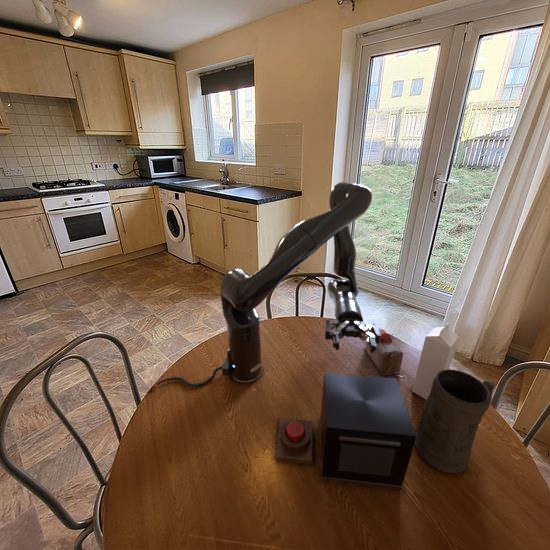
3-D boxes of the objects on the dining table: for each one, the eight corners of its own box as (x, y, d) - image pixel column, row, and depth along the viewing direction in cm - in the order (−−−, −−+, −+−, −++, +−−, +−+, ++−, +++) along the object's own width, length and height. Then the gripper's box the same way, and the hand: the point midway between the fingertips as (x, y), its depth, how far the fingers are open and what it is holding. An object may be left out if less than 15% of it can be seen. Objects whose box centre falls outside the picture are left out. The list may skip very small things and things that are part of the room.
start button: (285, 441, 66) (285, 435, 65) (287, 425, 70) (287, 420, 69) (303, 442, 66) (303, 437, 65) (304, 427, 69) (304, 422, 68)
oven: (321, 481, 61) (326, 428, 54) (320, 421, 73) (323, 373, 67) (401, 490, 59) (417, 437, 52) (385, 427, 72) (396, 378, 65)
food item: (360, 347, 99) (363, 323, 95) (382, 345, 100) (386, 321, 96) (379, 376, 87) (384, 350, 83) (404, 373, 88) (410, 347, 84)
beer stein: (444, 485, 60) (476, 413, 52) (402, 441, 68) (423, 374, 60) (486, 454, 66) (520, 387, 59) (443, 418, 75) (467, 355, 67)
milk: (442, 392, 82) (463, 326, 72) (433, 404, 78) (454, 336, 69) (420, 380, 86) (437, 316, 76) (411, 391, 82) (428, 325, 73)
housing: (275, 460, 65) (275, 451, 63) (280, 421, 74) (280, 412, 72) (311, 464, 64) (312, 455, 62) (312, 424, 73) (312, 415, 71)
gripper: (324, 301, 87) (327, 334, 72) (374, 304, 85) (387, 338, 70) (323, 323, 90) (325, 358, 75) (370, 326, 88) (382, 362, 73)
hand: (355, 348), depth 73 cm, fingers open, 8 cm apart
